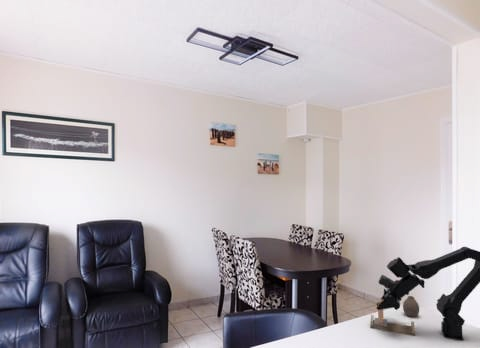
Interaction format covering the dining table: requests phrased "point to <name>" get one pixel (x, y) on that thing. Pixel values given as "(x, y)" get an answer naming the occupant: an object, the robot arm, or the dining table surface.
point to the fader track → (395, 327)
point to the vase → (411, 307)
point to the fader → (380, 317)
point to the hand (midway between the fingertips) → (377, 307)
